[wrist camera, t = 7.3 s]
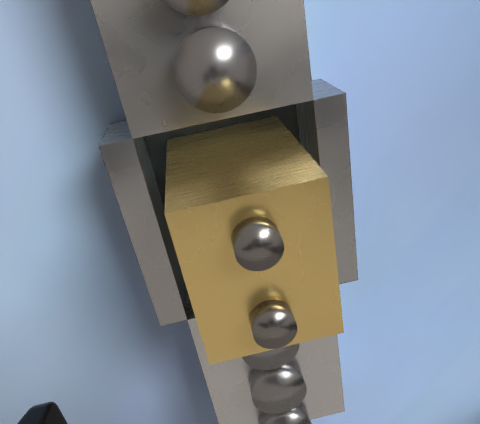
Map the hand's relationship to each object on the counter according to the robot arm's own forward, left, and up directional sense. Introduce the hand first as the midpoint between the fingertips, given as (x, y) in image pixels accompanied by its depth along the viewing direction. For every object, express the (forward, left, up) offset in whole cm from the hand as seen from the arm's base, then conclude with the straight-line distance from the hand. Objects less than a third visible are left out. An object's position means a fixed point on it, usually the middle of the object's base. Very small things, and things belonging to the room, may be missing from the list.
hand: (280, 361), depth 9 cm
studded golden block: (0, 0, -9) cm, 9 cm away
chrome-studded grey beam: (0, 0, -9) cm, 9 cm away
